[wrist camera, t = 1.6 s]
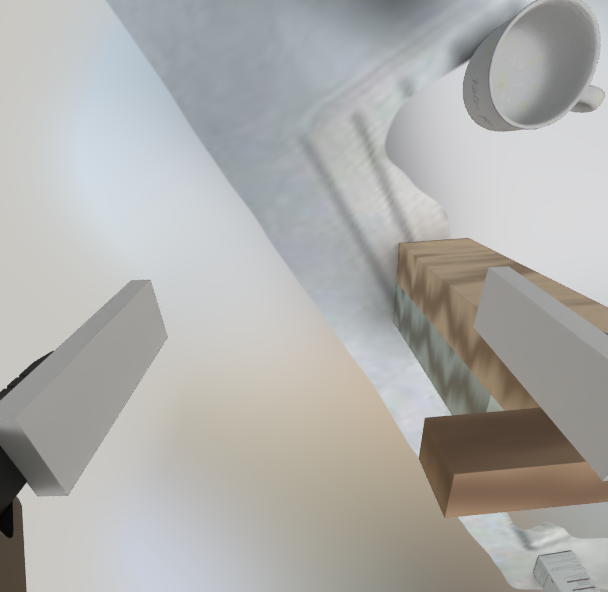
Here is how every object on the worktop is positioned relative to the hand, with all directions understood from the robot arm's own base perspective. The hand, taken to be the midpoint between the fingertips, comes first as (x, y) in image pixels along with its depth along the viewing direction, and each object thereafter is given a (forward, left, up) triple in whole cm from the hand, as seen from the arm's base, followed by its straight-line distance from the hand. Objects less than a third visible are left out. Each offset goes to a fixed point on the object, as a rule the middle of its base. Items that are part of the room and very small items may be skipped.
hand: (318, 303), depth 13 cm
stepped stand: (+14, +20, -32) cm, 40 cm away
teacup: (-10, +26, -32) cm, 43 cm away
